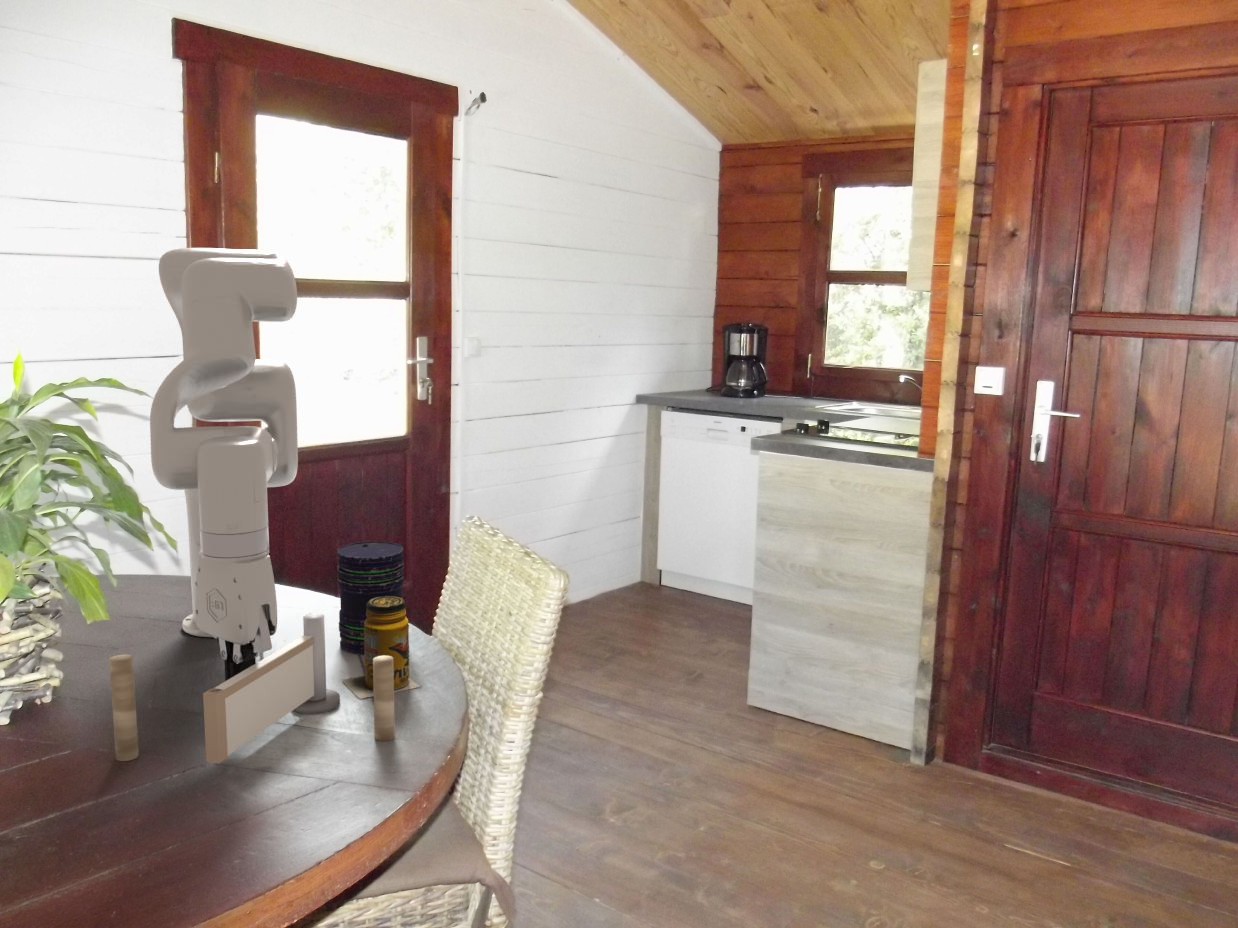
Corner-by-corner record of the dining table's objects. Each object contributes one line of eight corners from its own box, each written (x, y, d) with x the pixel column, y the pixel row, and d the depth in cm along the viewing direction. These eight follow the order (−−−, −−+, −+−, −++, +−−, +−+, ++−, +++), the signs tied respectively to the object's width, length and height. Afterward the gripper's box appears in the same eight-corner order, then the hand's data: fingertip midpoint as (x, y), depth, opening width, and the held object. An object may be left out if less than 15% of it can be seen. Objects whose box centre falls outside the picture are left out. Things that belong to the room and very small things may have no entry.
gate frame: (108, 750, 121) (101, 652, 119) (329, 691, 139) (326, 606, 137) (162, 810, 107) (155, 702, 105) (398, 737, 126) (396, 643, 124)
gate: (312, 691, 136) (310, 612, 134) (330, 694, 136) (328, 614, 134) (202, 768, 115) (198, 674, 113) (223, 771, 114) (218, 677, 112)
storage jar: (413, 649, 156) (412, 553, 153) (349, 659, 151) (346, 561, 149) (393, 629, 164) (392, 538, 162) (331, 638, 160) (329, 545, 157)
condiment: (419, 687, 142) (418, 603, 139) (360, 700, 137) (358, 613, 135) (399, 670, 148) (398, 590, 145) (342, 681, 143) (339, 598, 141)
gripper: (168, 537, 122) (176, 683, 125) (247, 560, 114) (254, 715, 117) (223, 526, 128) (229, 665, 131) (303, 546, 120) (307, 694, 123)
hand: (241, 688), depth 124 cm, fingers closed
